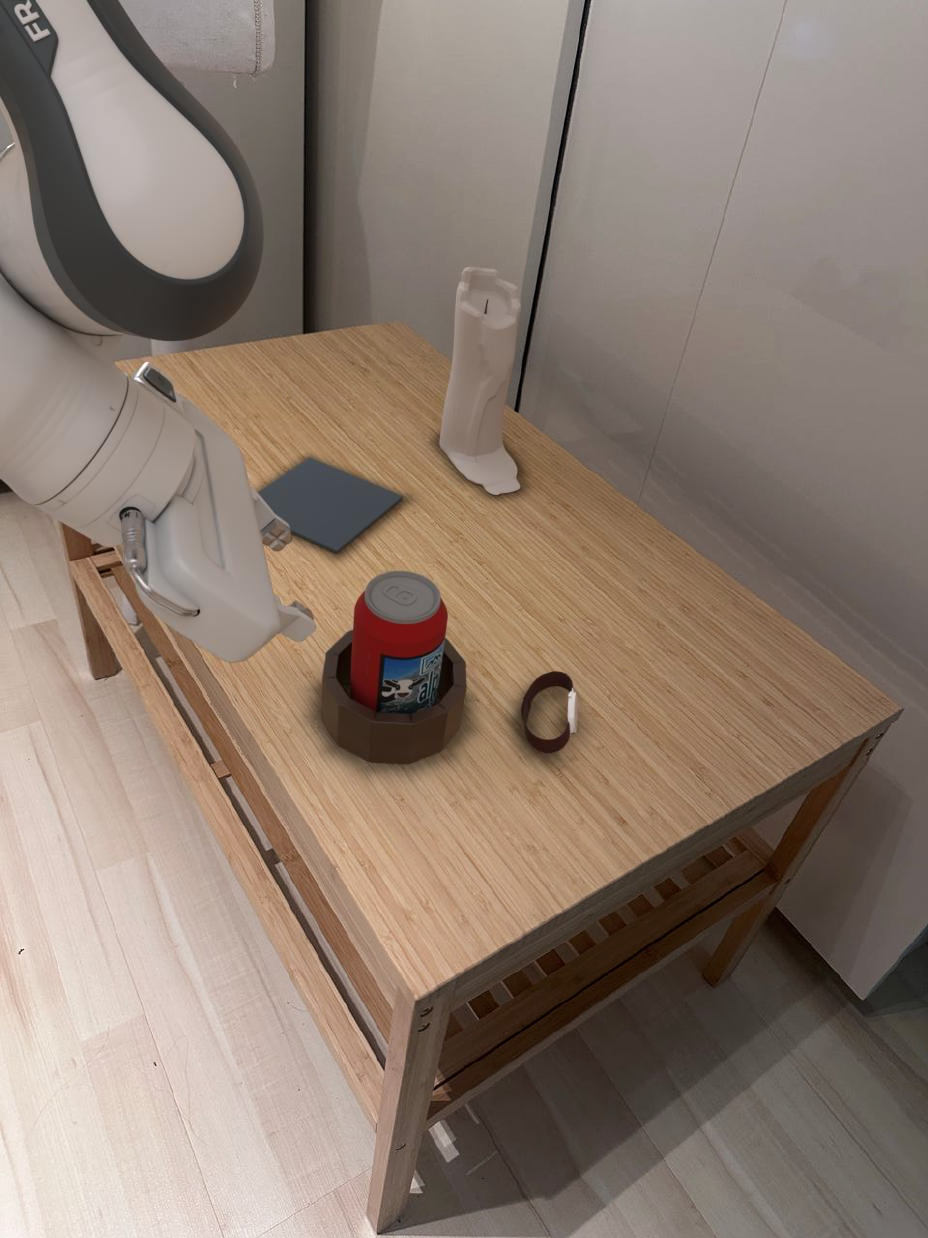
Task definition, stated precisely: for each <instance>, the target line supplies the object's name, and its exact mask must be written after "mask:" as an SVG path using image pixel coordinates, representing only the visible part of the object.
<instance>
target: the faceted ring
mask: <svg viewBox="0 0 928 1238" xmlns="http://www.w3.org/2000/svg"><path fill="white" fill-rule="evenodd" d="M352 637H353V629H351V630H348V631H346V632H345V633H343V635H342V636H341V637H340V638H339V639H338V640H336V641H335V643H333V644H332V646H331V647H330V648H329V649H327V651H326V652H325V655H324V663H323V670H322V677H321V715H320V716H321V718H320V719H321V720H322V722H323V723H324V726H325V727H326V729H327V730H328V732H329V733H330V735H331V736H332V738H333V741H335V743H336V744H337V746H339V747H340V748H342V749H345V750H346V751H348V752H350V753H352V754H354V755H356V756H357V757H360V758H361V759H363V760H365V761H368V762H370V763H383V764H396V765H397V764H399V765H410V764H413V763H415V762H418V761H420V760H423V759H426V758H429V757H431V756H433V755H436V754H439V753H441V752H442V751H443V750H444V749H445V748H446V747H447V745H448V744H449V743H450V741H451V740H452V738H453V737H454V736H455V735H456V733H457V732H458V731H459V730H460V727H461V722H462V716H463V711H464V707H465V706H464V705H465V699H466V694H467V665H466V660H465V659H464V657H463V656H462V655H461V654H460V653H459V651H458V650H457V649H456V648H455V647H454V646H453V644H452V643H451V642H450V640H449V639H448V638H446V637H445V643H444V650H443V657H442V664H441V671H440V677H439V684H438V690H437V692H438V693H439V695H441V696H442V699H441V700H440V701H439V702H438V703H436V704H435V705H434V706H431V707H428V708H426V709H423V710H420V711H417V712H415V713H412V714H399V713H383V712H376V711H374V710H372V709H370V708H368V707H366V706H364V705H362V704H360V703H358V702H356V701H354V700H352V699H350V696H349V695H348V693H347V692H346V690H345V688H346V687H347V685H348V684H350V679H351V656H352Z"/></svg>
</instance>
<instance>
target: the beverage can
mask: <svg viewBox="0 0 928 1238" xmlns="http://www.w3.org/2000/svg"><path fill="white" fill-rule="evenodd" d="M448 620H449V614H448V609H447V605H446V604H445V601H444V600H443V598H442V595H441V592H440V589H439V587H438V586H437V585H436V584H435V583H434V582H433V581H432V579H429V577H427V576H424V575H422V574H420V573H417V572H414V571H409V570H408V571H407V570H390V571H387V572H386V571H385V572H383V573H380V574H378V575H376V576H374V577H373V578H372V579H371V580H370V581H369V582H368V583H367V584H366V587H365V589H364V591H363V592H362V593H361V594H360V595H359V597H358V598H357V600H356V601H355V603H354V608H353V622H352V630H353V637H352V656H351V679H350V682H349V684H350V685H349V698H350V699H352V700H354V701H356V702H358V703H360V704H362V705H364V706H366V707H368V708H370V709H372V710H374V711H376V712H383V713H399V714H412V713H415V712H417V711H420V710H423V709H426V708H428V707H431V706H434V705H436V702H437V696H438V684H439V677H440V671H441V664H442V657H443V650H444V643H445V638H446V634H447V628H448V627H447V626H448Z"/></svg>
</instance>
